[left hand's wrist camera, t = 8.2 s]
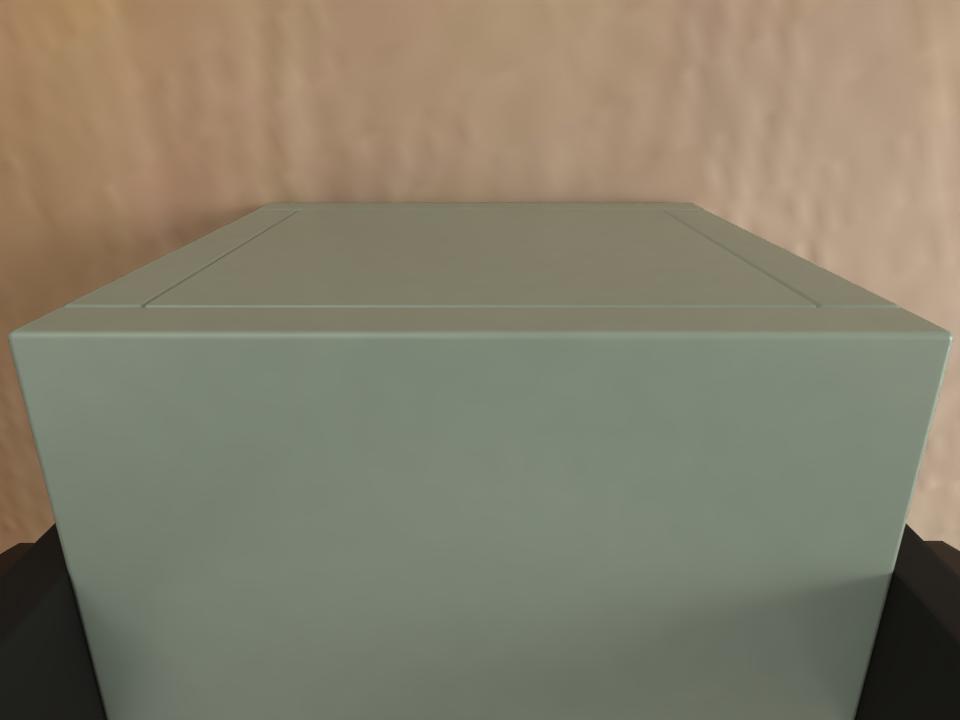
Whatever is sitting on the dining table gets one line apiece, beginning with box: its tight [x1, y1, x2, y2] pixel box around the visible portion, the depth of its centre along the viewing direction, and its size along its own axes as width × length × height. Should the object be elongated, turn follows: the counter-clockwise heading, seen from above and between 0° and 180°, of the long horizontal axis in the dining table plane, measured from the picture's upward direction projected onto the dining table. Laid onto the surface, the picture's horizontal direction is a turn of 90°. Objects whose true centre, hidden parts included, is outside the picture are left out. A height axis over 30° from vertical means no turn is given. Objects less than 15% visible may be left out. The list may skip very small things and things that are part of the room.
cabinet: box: [8, 203, 953, 720], centre depth 16 cm, size 21×10×10 cm, turn 0°
